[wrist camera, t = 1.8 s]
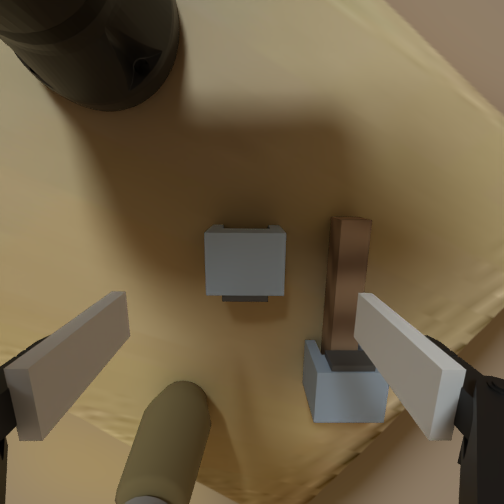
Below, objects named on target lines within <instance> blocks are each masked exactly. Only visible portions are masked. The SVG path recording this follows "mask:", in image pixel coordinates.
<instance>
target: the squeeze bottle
mask: <svg viewBox="0 0 504 504" xmlns="http://www.w3.org/2000/svg"><path fill="white" fill-rule="evenodd" d="M210 427H211V420H210V415H209V410H208V405H207V401H206V396H205V393H204V392H203V390H202V389H201V388H200V387H199V386H197V385H196V384H194V383H192V382H187V381H179V382H174V383H172V384H170V385H169V386H167V387H166V388H165V389H164V390H163V391H162V392H161V393H160V394H159V395H158V396H157V397H156V398H155V399H154V400H153V401H152V402H151V403H150V404H149V406H148V407H147V408H146V409H145V411H144V414H143V416H142V419H141V422H140V425H139V428H138V431H137V434H136V436H135V439H134V442H133V445H132V448H131V451H130V454H129V456H128V459H127V462H126V465H125V468H124V471H123V474H122V476H121V479H120V482H119V485H118V488H117V492H116V498H115V502H116V504H189V502H190V499H191V495H192V492H193V488H194V484H195V481H196V477H197V474H198V470H199V467H200V463H201V460H202V456H203V453H204V449H205V445H206V442H207V438H208V435H209V431H210Z"/></svg>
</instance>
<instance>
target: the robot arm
mask: <svg viewBox="0 0 504 504" xmlns="http://www.w3.org/2000/svg"><path fill="white" fill-rule="evenodd" d="M0 39H1V40H2V41H3V42H4V43H6V44H7V45H8V46H9V47H10V48H11V49H12V50H13V51H14V52H15V54H16V55H17V57H18V58H19V59H20V61H21V62H22V63H23V64H24V66H25V67H26V68H27V69H28V70H29V71H30V72H31V73H32V74H33V75H34V76H35V77H36V78H37V79H38V80H39V81H41V82H42V83H43V84H44V85H46V86H47V87H48V88H50V89H51V90H53V91H54V92H56V93H57V94H59V95H61V96H63V97H65V98H67V99H69V100H71V101H73V102H75V103H77V104H79V105H81V106H84V107H87V108H90V109H95V110H101V111H117V110H123V109H127V108H130V107H133V106H136V105H138V104H140V103H141V102H143V101H145V100H146V99H148V98H149V97H150V96H151V95H153V94H154V93H155V92H156V91H157V90H158V89H159V88H160V86H161V85H162V84H163V82H164V81H165V79H166V78H167V76H168V74H169V72H170V70H171V68H172V66H173V63H174V60H175V57H176V53H177V49H178V42H179V17H178V11H177V6H176V2H175V0H0ZM129 337H130V330H129V320H128V310H127V300H126V292H116V291H112V292H110V293H109V294H108V295H106V296H105V297H103V298H102V299H101V300H99V301H98V302H96V303H95V304H94V305H92V306H91V307H89V308H88V309H87V310H85V311H84V312H82V313H81V314H80V315H78V316H77V317H75V318H74V319H73V320H71V321H70V322H68V323H67V324H66V325H64V326H63V327H61V328H60V329H59V330H57V331H56V332H54V333H53V334H52V335H49V336H47V337H45V338H43V339H41V340H38V341H36V342H35V343H34V344H32V345H31V346H29V347H28V348H26V350H23V351H22V352H21V353H19V354H18V355H17V357H13V358H12V359H11V360H9V361H8V362H6V363H5V364H3V365H2V366H0V504H5V494H6V473H7V451H8V444H7V440H6V436H7V435H8V434H9V433H10V432H11V431H12V430H13V429H14V428H15V427H17V432H18V436H19V440H20V441H43V439H44V438H45V437H46V436H47V435H48V434H49V432H50V431H51V430H52V429H53V428H54V426H55V425H56V424H57V423H58V422H59V420H60V419H61V418H62V417H63V416H64V414H65V413H66V412H67V411H68V410H69V408H70V407H71V406H72V405H73V404H74V403H75V401H76V400H77V399H78V398H79V397H80V395H81V394H82V393H83V392H84V391H85V389H86V388H87V387H88V386H89V385H90V383H91V382H92V381H93V380H94V379H95V377H96V376H97V375H98V374H99V373H100V371H101V370H102V369H103V368H104V367H105V365H106V364H107V363H108V362H109V361H110V359H111V358H112V357H113V356H114V355H115V354H116V352H117V351H118V350H119V349H120V348H121V346H122V345H123V344H124V343H125V342H126V340H127V339H128V338H129ZM354 338H355V339H356V341H357V342H358V343H359V345H360V346H361V348H362V349H363V350H364V352H365V353H366V354H367V356H368V357H369V359H370V360H371V361H372V363H373V364H374V365H375V367H376V368H377V370H378V371H379V372H380V374H381V375H382V376H383V378H384V379H385V381H386V382H387V383H388V385H389V386H390V387H391V389H392V390H393V392H394V393H395V394H396V396H397V397H398V398H399V400H400V401H401V403H402V404H403V405H404V407H405V408H406V409H407V411H408V412H409V413H410V415H411V416H412V418H413V419H414V420H415V422H416V423H417V425H418V426H419V427H420V429H421V430H422V431H423V433H424V434H425V436H426V437H427V438H428V440H451V439H452V434H453V430H454V425H455V426H456V427H457V428H458V429H459V431H460V432H461V433H462V434H463V435H464V437H463V441H462V445H461V450H460V454H459V459H458V464H460V465H461V468H460V488H459V504H504V379H501V378H497V377H493V376H483V375H482V374H481V373H479V372H478V371H477V370H476V369H474V368H473V367H472V366H471V365H469V364H468V363H467V362H465V361H464V360H463V359H462V358H460V357H458V355H456V354H455V353H454V352H453V351H450V349H449V348H447V347H446V346H445V345H444V344H442V343H441V342H439V341H437V340H436V339H434V338H432V337H430V336H428V335H423V334H422V333H420V332H419V331H418V330H417V329H415V328H414V327H413V326H412V325H411V324H409V323H408V322H407V321H406V320H404V319H403V318H402V317H401V316H399V315H398V314H397V313H396V312H395V311H393V310H392V309H391V308H390V307H388V306H387V305H386V304H385V303H384V302H382V301H381V300H380V299H379V298H377V297H376V296H375V295H374V294H372V293H358V301H357V310H356V320H355V329H354Z"/></svg>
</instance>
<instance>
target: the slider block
mask: <svg viewBox="0 0 504 504" xmlns="http://www.w3.org/2000/svg"><path fill="white" fill-rule="evenodd" d="M303 386H304V389H305V393H306V397H307V400H308V404H309V407H310V411H311V414H312V418H313V422H314V423H384V417H385V410H386V403H387V396H388V389H389V385H388V383H387V382H386V381H385V379H384V378H383V376H382V375H381V374H380V372H379V371H378V370H377V368H376V367H375V365H374V364H373V363H372V361H371V360H370V359H369V357H368V356H367V354H366V353H365V352H364V350H363V349H362V348H361V346H360V345H359V343H358V350H325V355H321V353H320V350H319V348H318V346H317V344H316V341H315V340H305V350H304V366H303Z"/></svg>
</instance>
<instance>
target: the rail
mask: <svg viewBox="0 0 504 504" xmlns="http://www.w3.org/2000/svg"><path fill="white" fill-rule="evenodd" d="M371 226H372V220H369V219H364V218H360V217H331V226H330V239H329V252H328V265H327V278H326V291H325V304H324V317H323V330H322V343H321V355H325V350H358V342H357V341H356V339H355V338H354V329H355V320H356V310H357V301H358V293H364V289H365V280H366V271H367V262H368V253H369V244H370V235H371Z"/></svg>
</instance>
